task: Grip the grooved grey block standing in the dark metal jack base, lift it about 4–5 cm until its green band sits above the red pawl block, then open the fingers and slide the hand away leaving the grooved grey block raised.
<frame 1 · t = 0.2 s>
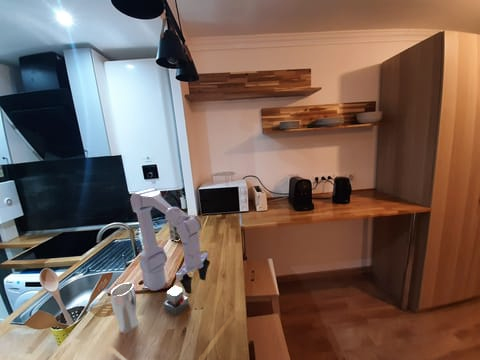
hand: (195, 285, 73), 10 cm above the countertop, fingers open, 7 cm apart
jack base: (177, 309, 75), on the countertop
grooved grey block: (176, 299, 74), point 5 cm above the countertop, slide at 0.0 cm
white tall cup: (129, 328, 69), on the countertop
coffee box: (179, 239, 135), on the countertop
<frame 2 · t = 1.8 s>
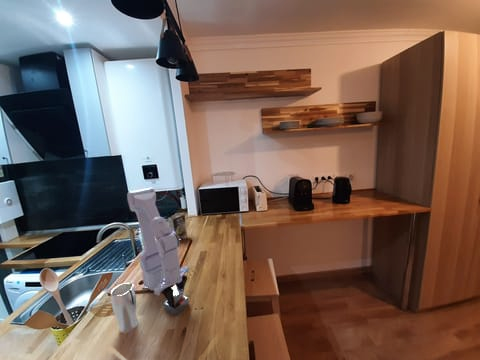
hand: (175, 299, 75), 4 cm above the countertop, fingers closed on grooved grey block, 4 cm apart
grooved grey block: (176, 299, 74), point 5 cm above the countertop, slide at 0.0 cm, touching gripper
everything else where it was.
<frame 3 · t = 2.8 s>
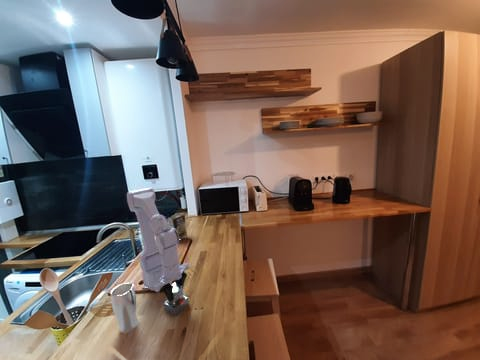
hand: (175, 296, 74), 6 cm above the countertop, fingers closed on grooved grey block, 4 cm apart
grooved grey block: (175, 295, 74), point 6 cm above the countertop, slide at 1.3 cm, touching gripper
everything else where it was.
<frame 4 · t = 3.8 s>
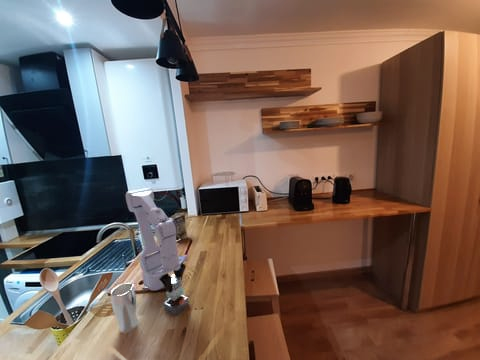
hand: (174, 287, 74), 9 cm above the countertop, fingers closed on grooved grey block, 4 cm apart
grooved grey block: (174, 287, 74), point 9 cm above the countertop, slide at 4.9 cm, touching gripper
everything else where it was.
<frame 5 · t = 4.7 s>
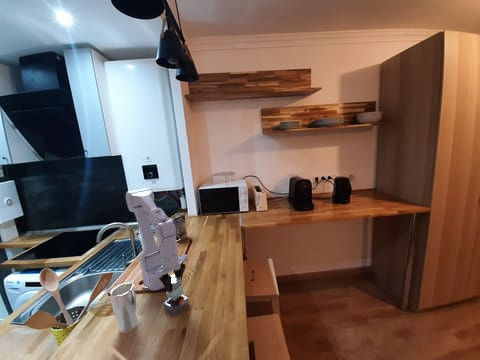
hand: (174, 287, 74), 9 cm above the countertop, fingers closed on grooved grey block, 4 cm apart
grooved grey block: (174, 287, 74), point 10 cm above the countertop, slide at 4.9 cm, touching gripper
everything else where it was.
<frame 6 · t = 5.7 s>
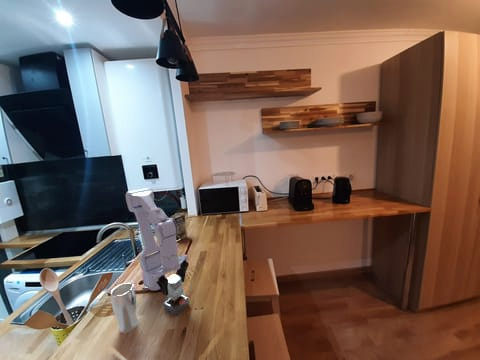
hand: (174, 287, 74), 9 cm above the countertop, fingers open, 7 cm apart
grooved grey block: (174, 287, 74), point 10 cm above the countertop, slide at 4.9 cm
everything else where it was.
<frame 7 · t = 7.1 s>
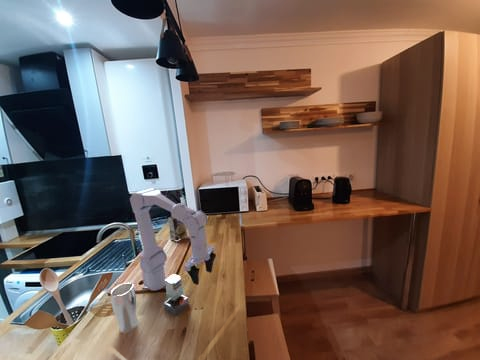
hand: (202, 277, 77), 10 cm above the countertop, fingers open, 7 cm apart
nothing on the countertop moved.
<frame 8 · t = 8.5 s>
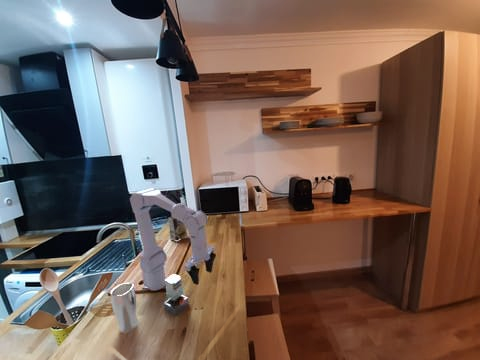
hand: (202, 277, 77), 10 cm above the countertop, fingers open, 7 cm apart
nothing on the countertop moved.
at the end: grooved grey block slide at 4.9 cm; the gripper is holding nothing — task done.
